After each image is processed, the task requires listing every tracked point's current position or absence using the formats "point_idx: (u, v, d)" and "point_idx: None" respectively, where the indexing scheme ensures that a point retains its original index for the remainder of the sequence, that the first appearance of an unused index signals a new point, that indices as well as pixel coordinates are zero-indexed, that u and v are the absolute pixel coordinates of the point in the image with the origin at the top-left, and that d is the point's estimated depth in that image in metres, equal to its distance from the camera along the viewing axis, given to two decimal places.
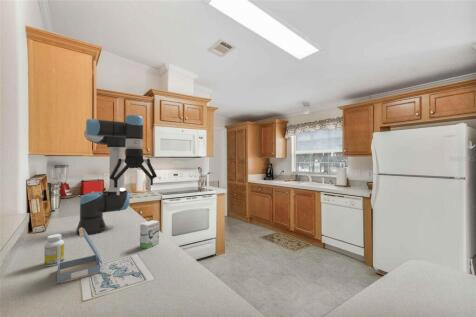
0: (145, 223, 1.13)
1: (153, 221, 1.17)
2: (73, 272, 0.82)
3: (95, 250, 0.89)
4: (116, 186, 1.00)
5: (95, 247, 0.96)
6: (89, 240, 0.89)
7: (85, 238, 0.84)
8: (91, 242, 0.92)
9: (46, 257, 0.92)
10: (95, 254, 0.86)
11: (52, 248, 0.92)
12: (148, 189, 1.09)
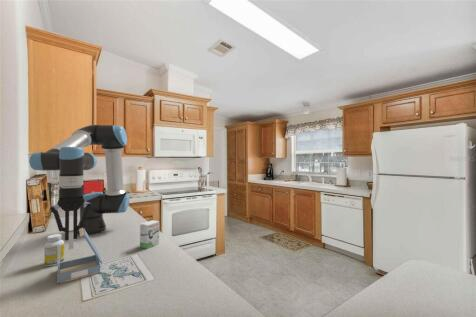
0: (145, 223, 1.13)
1: (153, 221, 1.17)
2: (73, 272, 0.82)
3: (95, 250, 0.89)
4: (67, 238, 0.85)
5: (95, 247, 0.96)
6: (89, 240, 0.89)
7: (85, 238, 0.84)
8: (91, 242, 0.92)
9: (46, 257, 0.92)
10: (95, 254, 0.86)
11: (52, 248, 0.92)
12: None
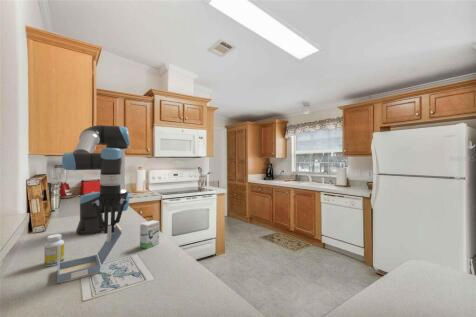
0: (145, 223, 1.13)
1: (153, 221, 1.17)
2: (73, 272, 0.82)
3: None
4: (106, 232, 0.93)
5: None
6: None
7: (119, 234, 0.91)
8: None
9: (46, 257, 0.92)
10: (108, 252, 0.89)
11: (52, 248, 0.92)
12: None
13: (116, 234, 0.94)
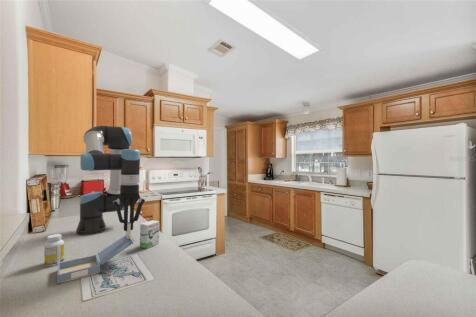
0: (145, 223, 1.13)
1: (153, 221, 1.17)
2: (73, 272, 0.82)
3: None
4: (126, 229, 0.97)
5: None
6: None
7: (131, 243, 0.94)
8: None
9: (46, 257, 0.92)
10: (113, 256, 0.90)
11: (52, 248, 0.92)
12: None
13: (127, 242, 0.96)
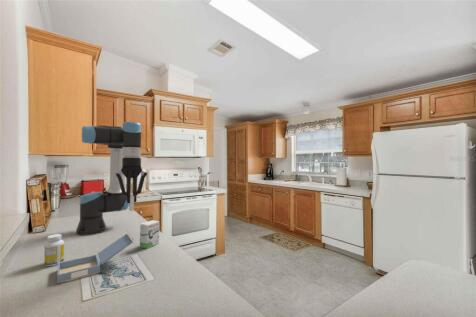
0: (145, 223, 1.13)
1: (153, 221, 1.17)
2: (73, 272, 0.82)
3: None
4: (129, 201, 0.98)
5: None
6: None
7: (130, 242, 0.94)
8: None
9: (46, 257, 0.92)
10: (112, 255, 0.90)
11: (52, 248, 0.92)
12: None
13: (126, 241, 0.96)
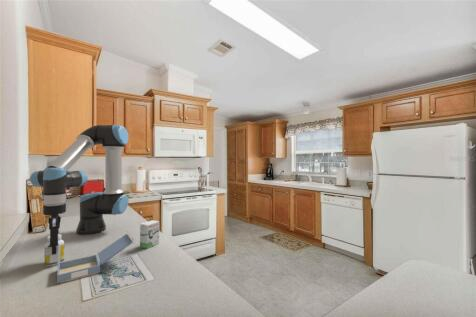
0: (145, 223, 1.13)
1: (153, 221, 1.17)
2: (73, 272, 0.82)
3: None
4: None
5: None
6: None
7: (130, 242, 0.94)
8: None
9: (46, 257, 0.92)
10: (112, 255, 0.90)
11: None
12: None
13: (126, 241, 0.96)
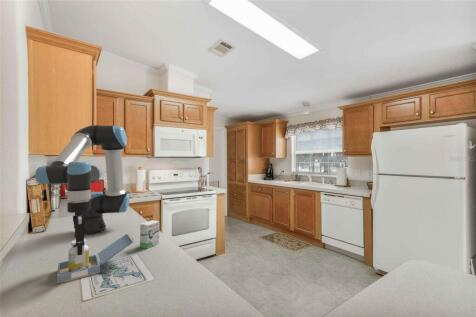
0: (145, 223, 1.13)
1: (153, 221, 1.17)
2: (73, 272, 0.82)
3: None
4: None
5: None
6: None
7: (130, 242, 0.94)
8: None
9: (71, 264, 0.85)
10: (112, 255, 0.90)
11: None
12: None
13: (126, 241, 0.96)
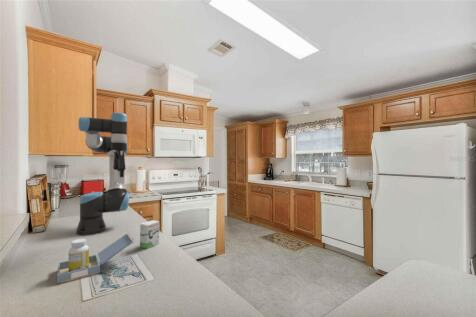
0: (145, 223, 1.13)
1: (153, 221, 1.17)
2: (73, 272, 0.82)
3: None
4: None
5: None
6: None
7: (130, 242, 0.94)
8: None
9: (71, 264, 0.85)
10: (112, 255, 0.90)
11: (77, 254, 0.85)
12: None
13: (126, 241, 0.96)
